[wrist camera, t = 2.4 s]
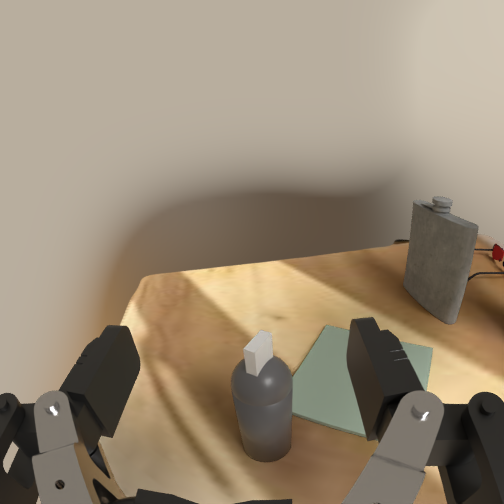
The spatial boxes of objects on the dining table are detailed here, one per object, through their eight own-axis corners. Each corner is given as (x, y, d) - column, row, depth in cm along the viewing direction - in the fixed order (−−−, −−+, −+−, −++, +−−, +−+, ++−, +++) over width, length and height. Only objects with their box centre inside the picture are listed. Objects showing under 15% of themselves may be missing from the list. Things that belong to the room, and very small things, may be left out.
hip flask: (459, 321, 44) (484, 211, 36) (443, 327, 43) (469, 213, 35) (411, 280, 58) (423, 186, 50) (396, 284, 58) (407, 187, 49)
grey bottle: (259, 418, 33) (247, 314, 26) (299, 434, 30) (304, 330, 24) (234, 450, 29) (209, 350, 22) (276, 469, 26) (271, 374, 20)
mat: (326, 327, 48) (326, 324, 48) (431, 350, 39) (432, 348, 39) (273, 407, 34) (273, 404, 34) (412, 448, 25) (413, 445, 25)
